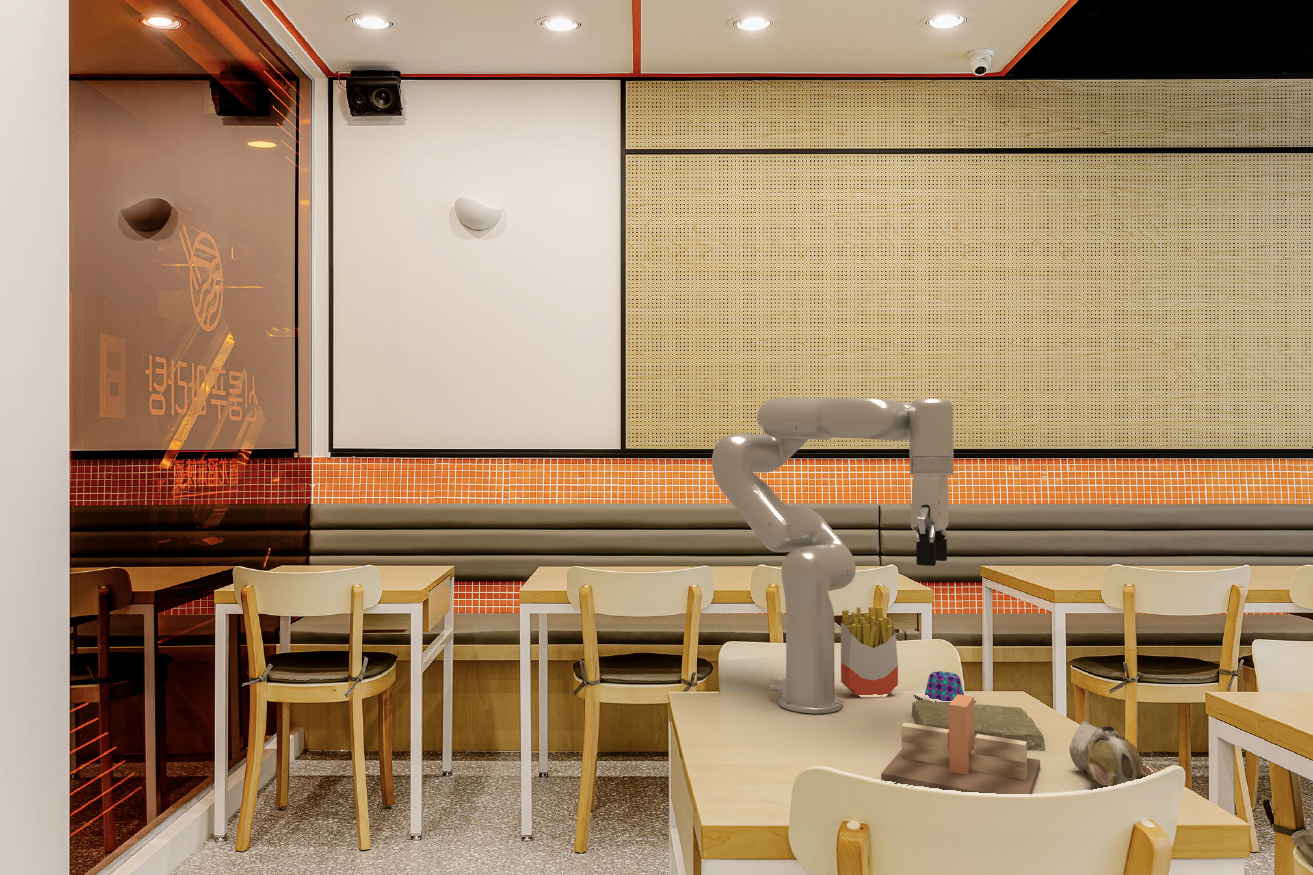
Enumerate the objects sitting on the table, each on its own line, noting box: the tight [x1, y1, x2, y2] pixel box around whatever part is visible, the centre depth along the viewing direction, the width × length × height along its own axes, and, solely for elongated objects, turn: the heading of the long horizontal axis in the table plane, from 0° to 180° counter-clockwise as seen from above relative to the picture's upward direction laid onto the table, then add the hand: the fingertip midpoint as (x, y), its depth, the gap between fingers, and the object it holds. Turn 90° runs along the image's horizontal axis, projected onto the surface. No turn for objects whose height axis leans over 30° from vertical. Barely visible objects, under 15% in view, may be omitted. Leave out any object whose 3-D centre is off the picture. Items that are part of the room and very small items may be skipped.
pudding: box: [914, 670, 977, 702], centre depth 170 cm, size 12×12×5 cm
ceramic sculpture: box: [1068, 720, 1159, 789], centre depth 123 cm, size 11×9×15 cm
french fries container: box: [840, 606, 899, 696], centre depth 172 cm, size 5×11×18 cm, turn 101°
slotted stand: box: [880, 722, 1041, 795], centre depth 126 cm, size 20×19×6 cm
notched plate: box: [949, 694, 975, 775], centre depth 126 cm, size 2×7×10 cm, turn 150°
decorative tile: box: [911, 699, 1046, 752], centre depth 148 cm, size 19×20×4 cm
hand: (932, 562), depth 147 cm, fingers open, 9 cm apart
